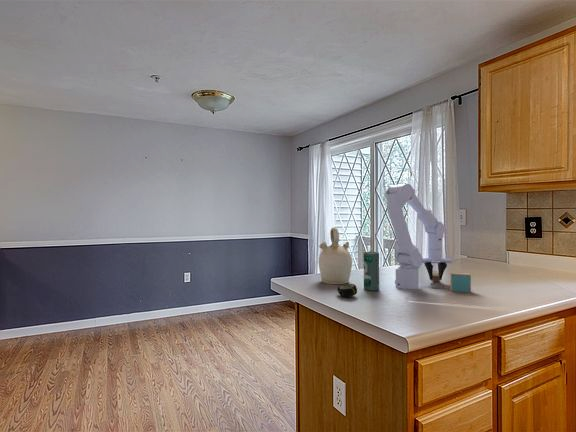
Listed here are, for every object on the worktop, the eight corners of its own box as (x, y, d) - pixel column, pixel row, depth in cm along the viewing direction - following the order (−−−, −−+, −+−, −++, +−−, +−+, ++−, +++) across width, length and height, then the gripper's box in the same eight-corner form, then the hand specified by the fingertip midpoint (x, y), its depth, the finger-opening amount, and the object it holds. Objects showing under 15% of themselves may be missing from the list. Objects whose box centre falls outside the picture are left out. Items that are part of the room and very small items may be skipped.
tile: (451, 291, 136) (451, 273, 136) (450, 290, 139) (450, 272, 139) (470, 292, 134) (470, 274, 134) (469, 291, 136) (469, 273, 136)
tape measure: (355, 290, 134) (353, 281, 133) (359, 296, 127) (357, 286, 127) (338, 294, 134) (336, 285, 133) (341, 300, 127) (339, 291, 126)
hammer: (427, 279, 161) (427, 270, 161) (439, 279, 159) (439, 271, 159) (431, 287, 143) (431, 278, 143) (444, 288, 141) (444, 278, 141)
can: (363, 287, 146) (363, 251, 146) (378, 287, 145) (377, 251, 145) (364, 290, 140) (364, 253, 140) (379, 290, 139) (379, 253, 139)
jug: (317, 285, 151) (316, 228, 150) (320, 278, 166) (319, 226, 166) (352, 285, 148) (352, 228, 148) (352, 278, 164) (351, 226, 163)
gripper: (420, 249, 148) (420, 281, 148) (456, 249, 146) (456, 281, 146) (416, 248, 155) (416, 278, 155) (450, 248, 153) (450, 278, 153)
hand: (435, 279), depth 151 cm, fingers closed on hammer, 3 cm apart
